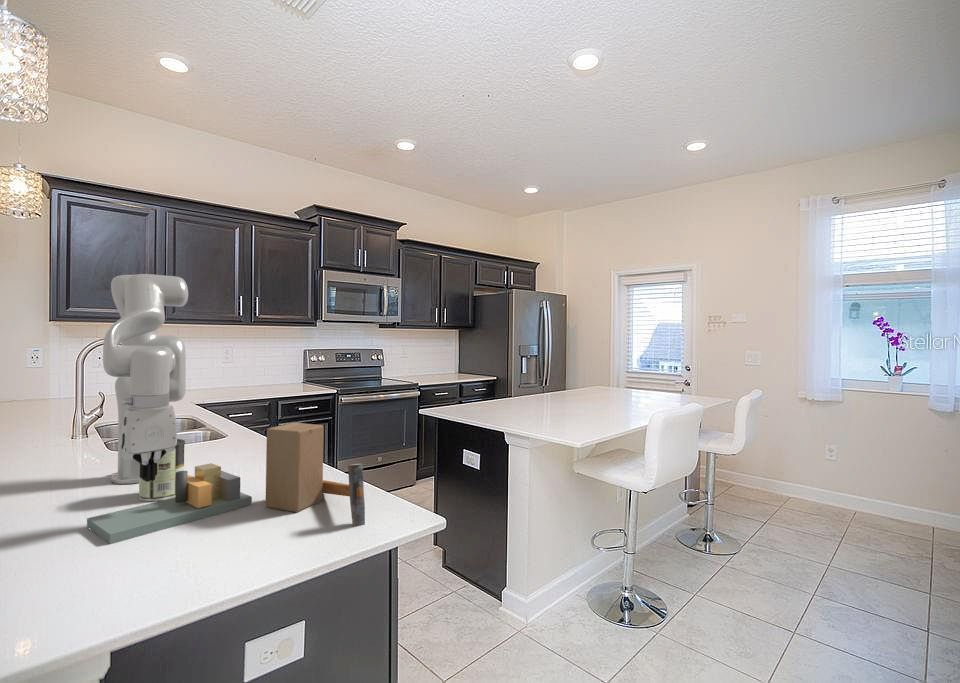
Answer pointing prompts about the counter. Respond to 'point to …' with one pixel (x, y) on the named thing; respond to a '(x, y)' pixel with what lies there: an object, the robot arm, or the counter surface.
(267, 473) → the wooden block
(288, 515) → the counter surface
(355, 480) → the hammer
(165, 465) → the coffee can
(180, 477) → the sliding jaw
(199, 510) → the vise
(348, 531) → the counter surface
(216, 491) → the brass block
